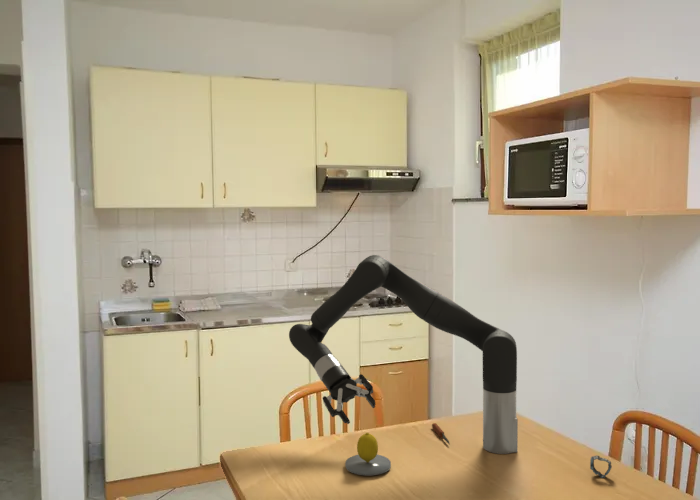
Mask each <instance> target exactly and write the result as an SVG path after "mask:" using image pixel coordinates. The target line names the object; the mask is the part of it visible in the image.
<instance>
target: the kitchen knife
mask: <svg viewBox="0 0 700 500" xmlns="http://www.w3.org/2000/svg"><path fill="white" fill-rule="evenodd" d="M431 428H432V430H433V431H434V432H435V433H436V434H437V435H438V437H439V438H440V439H444V441H445V442H446V443H447V444H448V445H450V441H449V439H448V438H447V436H446V435H445V432H444V431H443V429H442V428H441V427H440V426H439V425H438V424H437V423H434V422H433V423H432V424H431Z"/></svg>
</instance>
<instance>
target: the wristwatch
mask: <svg viewBox="0 0 700 500" xmlns="http://www.w3.org/2000/svg"><path fill="white" fill-rule="evenodd" d="M595 460H598V461H601V462H606V463H607V465H608V467H607V470H606V472H605V473H603V474H602V473H601V472H600V471H599V470H597V469H596V467H595ZM589 468H590V470H591V471H592V472H593V473H594V474H595V475H598V477H599V478H601V479H605V478H606V476H608V474H609V473H610V472H611V470H612V462H611V460H609V459H607V458H604V457H601V456H600V455H593V456H591V457H590V462H589Z"/></svg>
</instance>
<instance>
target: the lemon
mask: <svg viewBox="0 0 700 500" xmlns="http://www.w3.org/2000/svg"><path fill="white" fill-rule="evenodd" d="M356 450H357V455H359V457H360V458H361V459H363V460H365V461H366V462H370V460H373V459H374V458H375V457H376V455H378V453H379V452H378V451H379V445H378V441H377V438H376V437H375V436H374V435H373V434H372V433H370V432H365V433H364V434H361V436H360V437H359V438H358V441H357V444H356Z"/></svg>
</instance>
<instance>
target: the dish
mask: <svg viewBox="0 0 700 500" xmlns="http://www.w3.org/2000/svg"><path fill="white" fill-rule="evenodd" d="M344 465H345V469H346V470H347V471H348V472H350V473H352V474H353V475H354V474H355V475H359V476H366V477H367V476H378V475H381V474H385V473H386V472H388V471H390V469H391V467H392V466H391V465H392V464H391V459H389V458H388V457H386V456H384V455H380V454H377V455H376V457H375V458H374V459H373V460H370V462H366V461H365V460H363V459H361V458H360V457H359V455H358V454H355V455H352V456H350V457H348V458H347V459H346V460H345V463H344Z"/></svg>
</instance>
